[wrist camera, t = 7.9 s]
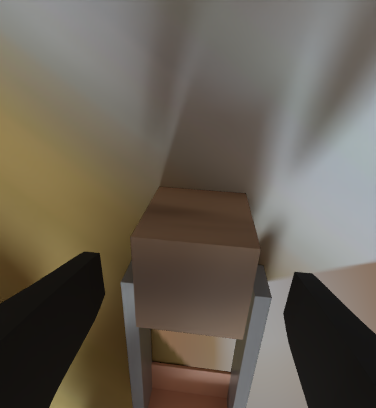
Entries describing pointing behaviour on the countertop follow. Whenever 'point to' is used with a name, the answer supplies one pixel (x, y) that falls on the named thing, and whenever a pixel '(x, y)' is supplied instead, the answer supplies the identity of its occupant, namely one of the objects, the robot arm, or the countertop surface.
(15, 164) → the countertop surface
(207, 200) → the walnut block
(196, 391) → the channel
